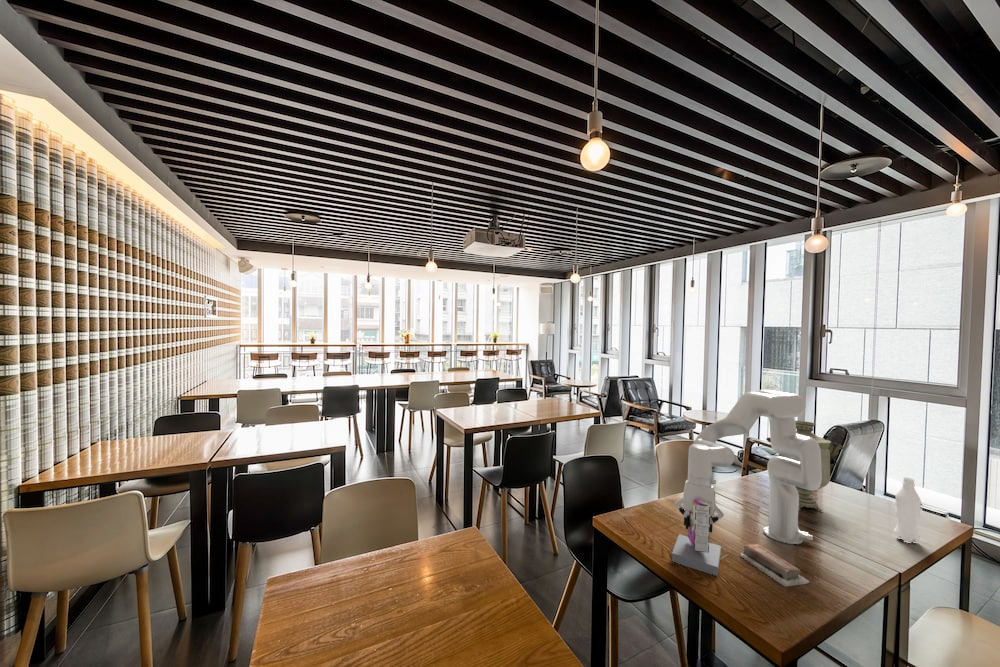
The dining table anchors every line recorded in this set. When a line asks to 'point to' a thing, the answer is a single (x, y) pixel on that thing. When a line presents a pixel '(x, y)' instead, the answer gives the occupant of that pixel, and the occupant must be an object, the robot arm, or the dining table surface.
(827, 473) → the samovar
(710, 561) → the base plinth
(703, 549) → the candy bar box
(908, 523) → the water bottle
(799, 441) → the robot arm
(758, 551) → the packaged product
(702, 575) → the dining table surface
